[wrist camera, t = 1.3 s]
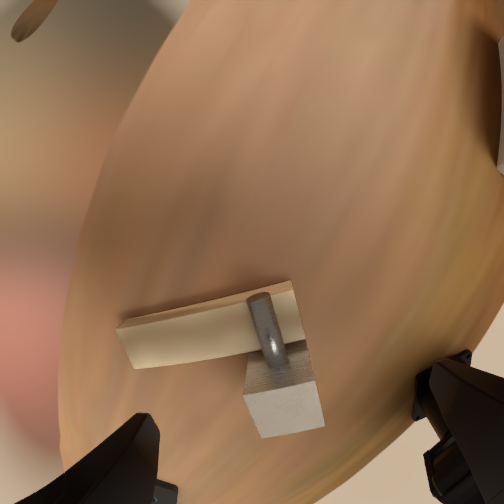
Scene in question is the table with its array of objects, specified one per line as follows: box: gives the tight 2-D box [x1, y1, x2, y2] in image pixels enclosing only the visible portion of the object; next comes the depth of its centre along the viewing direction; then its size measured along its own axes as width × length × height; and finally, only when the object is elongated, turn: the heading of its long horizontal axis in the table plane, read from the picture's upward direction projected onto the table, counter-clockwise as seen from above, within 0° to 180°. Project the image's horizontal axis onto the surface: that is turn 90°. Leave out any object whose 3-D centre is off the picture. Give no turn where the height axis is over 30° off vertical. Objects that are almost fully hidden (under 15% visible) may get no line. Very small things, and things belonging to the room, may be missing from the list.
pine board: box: [115, 280, 305, 369], centre depth 19 cm, size 4×13×2 cm, turn 106°
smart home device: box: [152, 479, 178, 504], centre depth 26 cm, size 8×2×20 cm
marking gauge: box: [243, 292, 325, 438], centre depth 16 cm, size 8×4×6 cm, turn 16°
